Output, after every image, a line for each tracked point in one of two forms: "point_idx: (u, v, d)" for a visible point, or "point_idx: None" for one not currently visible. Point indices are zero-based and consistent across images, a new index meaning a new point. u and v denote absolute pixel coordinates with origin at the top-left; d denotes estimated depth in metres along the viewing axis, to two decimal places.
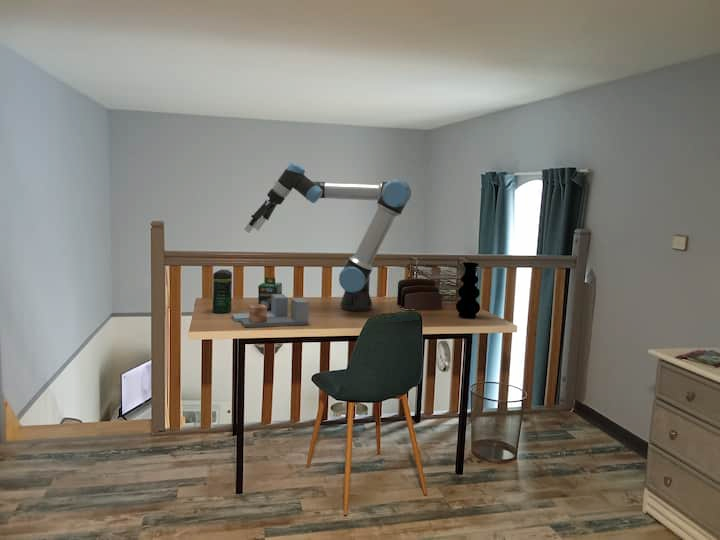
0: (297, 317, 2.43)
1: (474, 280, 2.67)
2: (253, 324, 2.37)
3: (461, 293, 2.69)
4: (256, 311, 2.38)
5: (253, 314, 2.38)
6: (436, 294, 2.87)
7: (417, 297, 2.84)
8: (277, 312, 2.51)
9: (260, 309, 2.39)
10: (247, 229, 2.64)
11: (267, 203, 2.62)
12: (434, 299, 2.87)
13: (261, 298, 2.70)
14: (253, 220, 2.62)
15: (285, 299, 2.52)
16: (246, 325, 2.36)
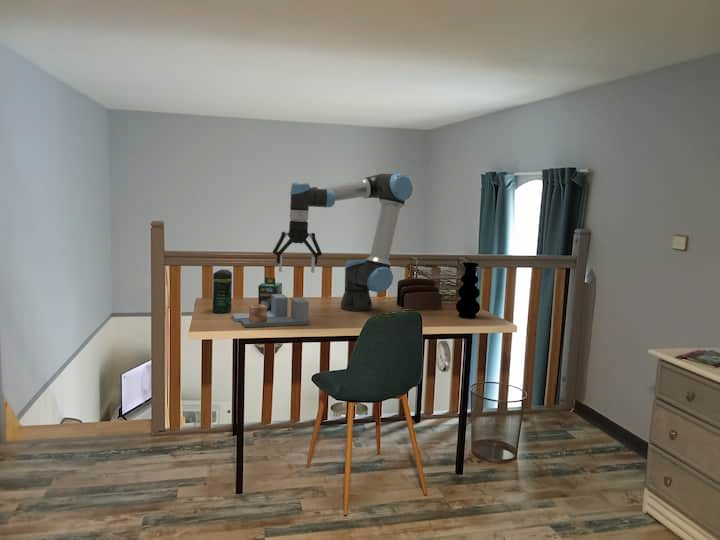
0: (297, 317, 2.43)
1: (474, 280, 2.67)
2: (253, 324, 2.37)
3: (461, 293, 2.69)
4: (256, 311, 2.38)
5: (253, 314, 2.38)
6: (435, 294, 2.87)
7: (417, 296, 2.84)
8: (277, 312, 2.51)
9: (260, 309, 2.39)
10: None
11: None
12: (433, 299, 2.87)
13: (261, 298, 2.70)
14: None
15: (285, 299, 2.52)
16: (246, 325, 2.36)
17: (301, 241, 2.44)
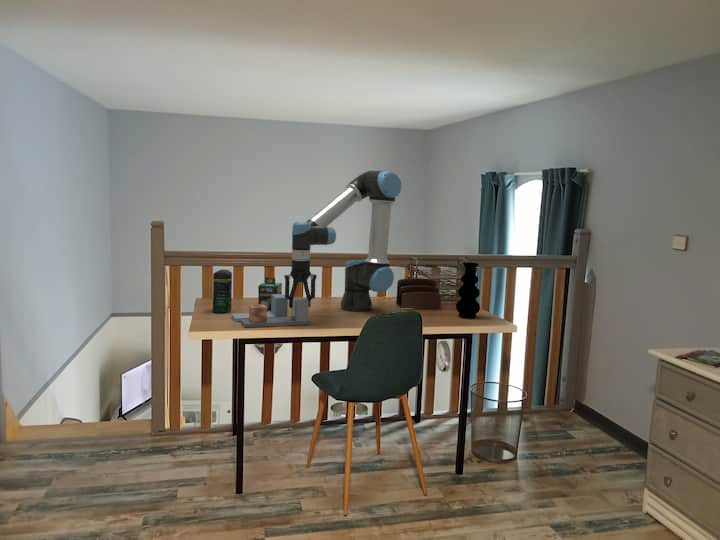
0: (297, 317, 2.43)
1: (474, 280, 2.67)
2: (253, 324, 2.37)
3: (461, 293, 2.69)
4: (256, 311, 2.38)
5: (253, 314, 2.38)
6: (434, 294, 2.86)
7: (415, 296, 2.85)
8: (277, 312, 2.51)
9: (260, 309, 2.39)
10: None
11: None
12: (432, 299, 2.86)
13: (261, 298, 2.70)
14: None
15: (285, 299, 2.52)
16: (246, 325, 2.36)
17: (304, 280, 2.46)
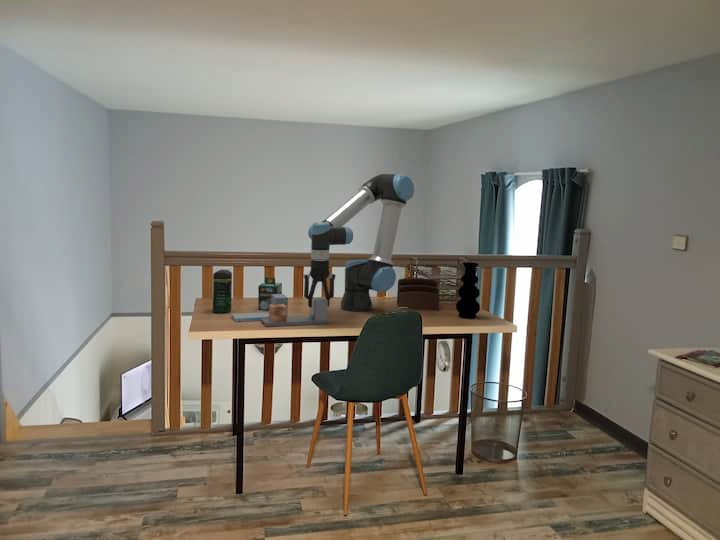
0: (316, 316, 2.46)
1: (474, 280, 2.67)
2: (273, 323, 2.40)
3: (461, 293, 2.69)
4: (276, 311, 2.41)
5: (273, 313, 2.41)
6: (432, 294, 2.85)
7: (412, 296, 2.86)
8: None
9: (280, 308, 2.42)
10: None
11: None
12: (430, 299, 2.86)
13: (261, 298, 2.70)
14: None
15: (285, 299, 2.52)
16: (267, 324, 2.39)
17: (323, 280, 2.49)
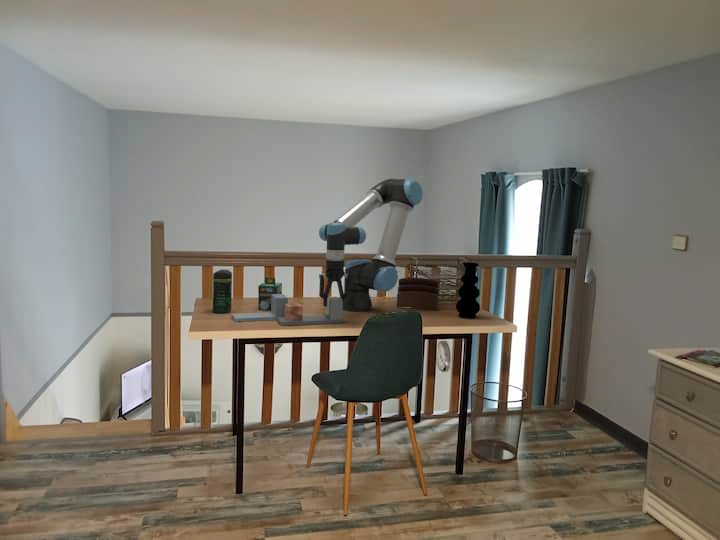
0: (332, 315, 2.49)
1: (474, 280, 2.67)
2: (289, 322, 2.42)
3: (461, 293, 2.69)
4: (292, 310, 2.44)
5: (289, 313, 2.43)
6: (431, 294, 2.85)
7: (411, 295, 2.86)
8: (277, 312, 2.51)
9: (296, 308, 2.44)
10: None
11: None
12: (429, 299, 2.85)
13: (261, 298, 2.70)
14: None
15: (285, 299, 2.52)
16: (283, 323, 2.41)
17: None
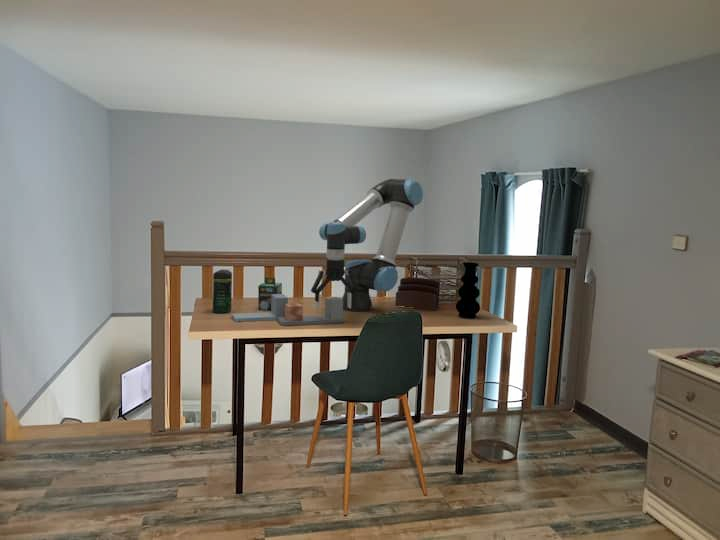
0: (332, 315, 2.49)
1: (474, 280, 2.67)
2: (290, 322, 2.43)
3: (461, 293, 2.69)
4: (292, 310, 2.44)
5: (290, 313, 2.43)
6: (429, 294, 2.85)
7: (409, 295, 2.87)
8: (277, 312, 2.51)
9: (296, 308, 2.44)
10: None
11: None
12: (427, 299, 2.85)
13: (261, 298, 2.70)
14: None
15: (285, 299, 2.52)
16: (283, 323, 2.42)
17: (338, 279, 2.51)
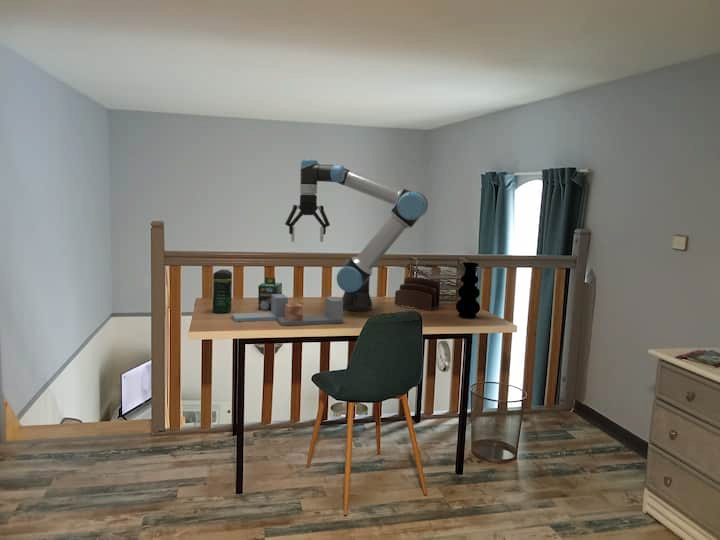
0: (332, 315, 2.49)
1: (474, 280, 2.67)
2: (290, 322, 2.43)
3: (461, 293, 2.69)
4: (292, 310, 2.44)
5: (290, 313, 2.43)
6: (425, 294, 2.84)
7: (407, 294, 2.89)
8: (277, 312, 2.51)
9: (296, 308, 2.44)
10: None
11: None
12: (423, 299, 2.85)
13: (261, 298, 2.70)
14: None
15: (285, 299, 2.52)
16: (283, 323, 2.42)
17: (311, 213, 2.68)
